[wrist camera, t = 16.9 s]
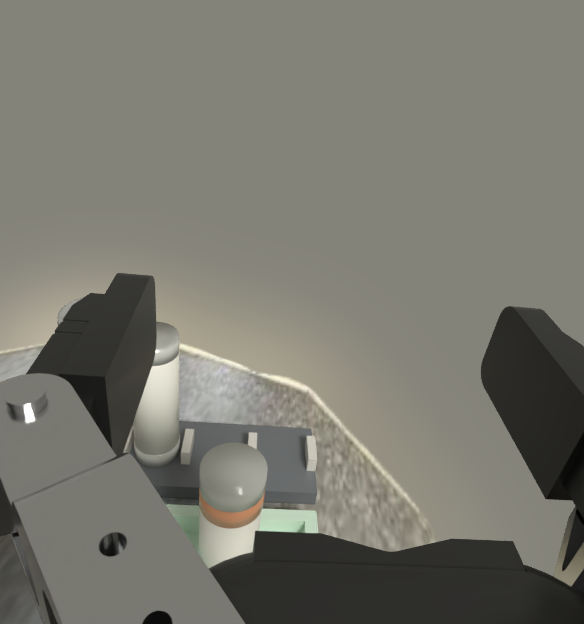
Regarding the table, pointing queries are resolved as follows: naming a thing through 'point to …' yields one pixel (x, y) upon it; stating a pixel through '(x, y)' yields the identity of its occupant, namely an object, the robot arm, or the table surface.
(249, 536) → the cylinder
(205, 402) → the table surface
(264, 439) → the clip block
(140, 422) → the plain fuse
